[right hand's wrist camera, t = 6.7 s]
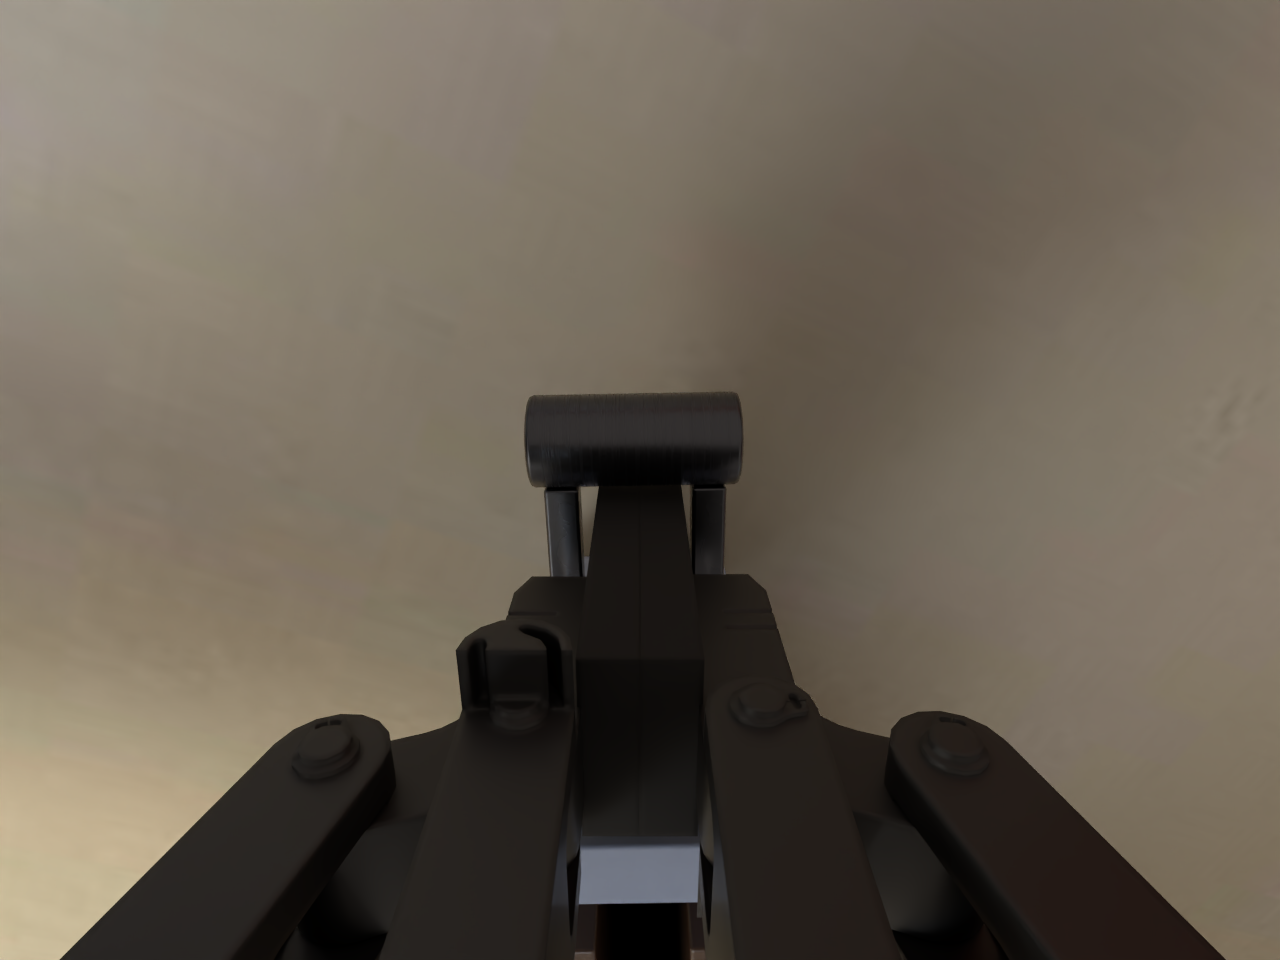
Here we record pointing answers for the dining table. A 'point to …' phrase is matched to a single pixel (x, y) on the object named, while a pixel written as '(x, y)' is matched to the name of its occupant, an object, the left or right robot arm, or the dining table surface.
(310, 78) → the dining table surface
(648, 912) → the drawer
